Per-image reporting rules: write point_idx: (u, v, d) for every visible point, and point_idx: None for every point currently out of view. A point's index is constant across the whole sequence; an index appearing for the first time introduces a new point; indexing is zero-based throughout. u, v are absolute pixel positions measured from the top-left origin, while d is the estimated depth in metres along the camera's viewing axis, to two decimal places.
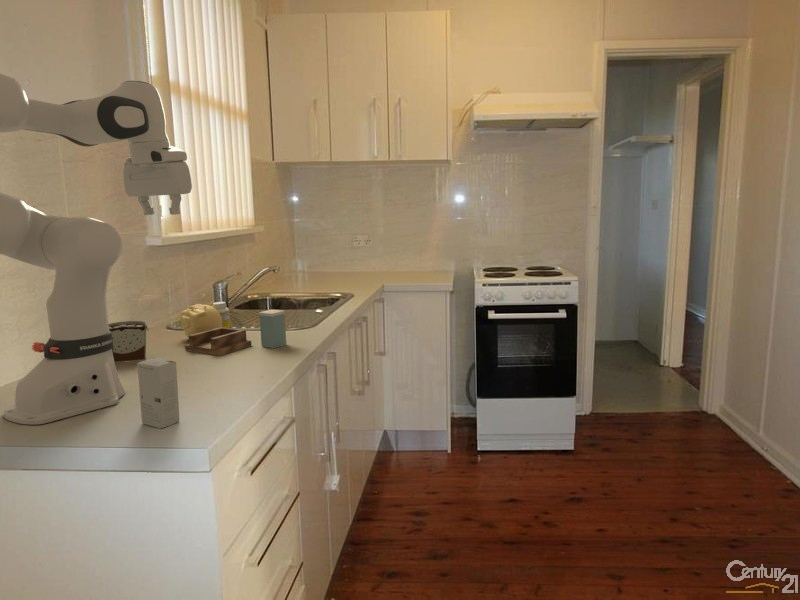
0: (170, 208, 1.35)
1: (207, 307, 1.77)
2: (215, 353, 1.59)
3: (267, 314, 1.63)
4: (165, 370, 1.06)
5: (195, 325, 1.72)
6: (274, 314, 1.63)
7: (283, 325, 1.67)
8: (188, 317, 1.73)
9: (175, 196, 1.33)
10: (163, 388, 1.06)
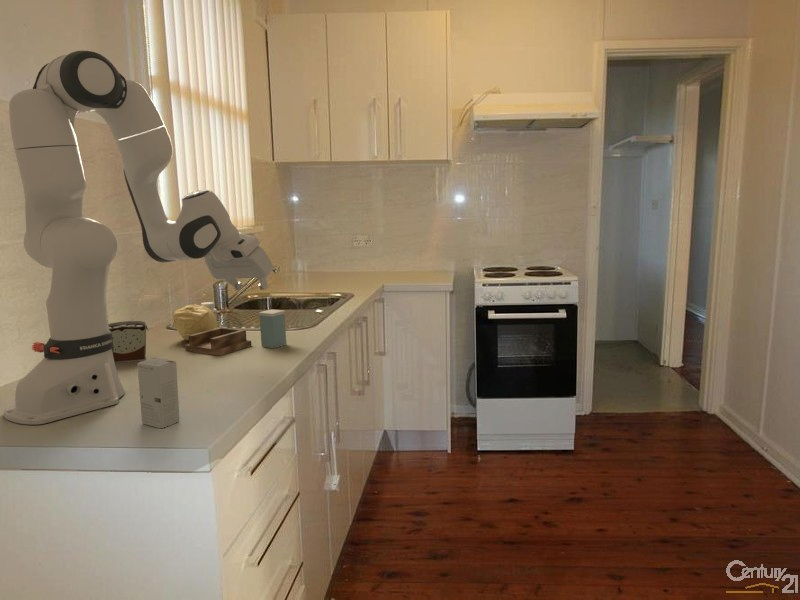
0: (260, 285, 1.52)
1: (204, 307, 1.76)
2: (215, 353, 1.59)
3: (267, 314, 1.63)
4: (165, 370, 1.06)
5: (201, 325, 1.72)
6: (274, 314, 1.63)
7: (283, 325, 1.67)
8: (191, 318, 1.71)
9: None
10: (163, 388, 1.06)
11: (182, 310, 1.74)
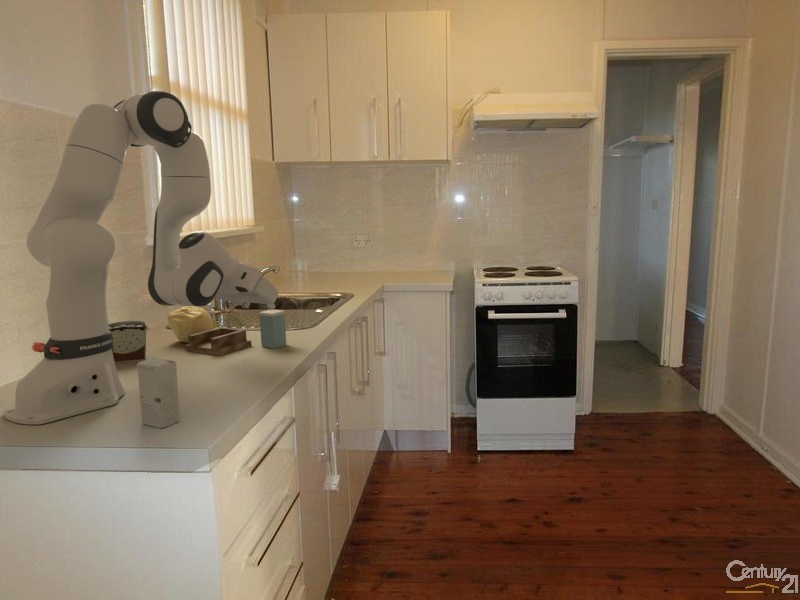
0: (267, 307, 1.57)
1: (200, 309, 1.75)
2: (215, 353, 1.59)
3: (267, 314, 1.63)
4: (165, 370, 1.06)
5: (194, 327, 1.70)
6: (274, 314, 1.63)
7: (283, 325, 1.67)
8: (184, 320, 1.70)
9: None
10: (163, 388, 1.06)
11: (177, 312, 1.73)
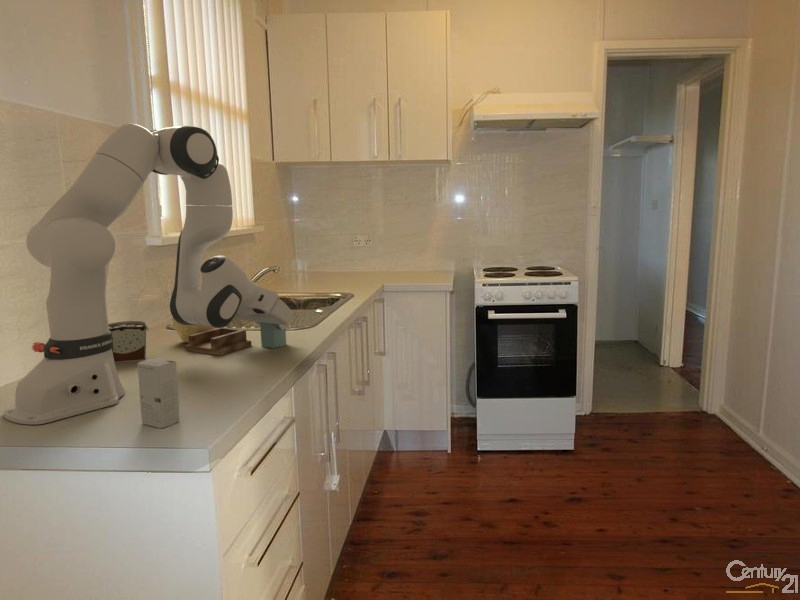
0: (278, 327, 1.64)
1: None
2: (215, 353, 1.59)
3: None
4: (165, 370, 1.06)
5: (197, 327, 1.69)
6: None
7: None
8: None
9: None
10: (163, 388, 1.06)
11: None
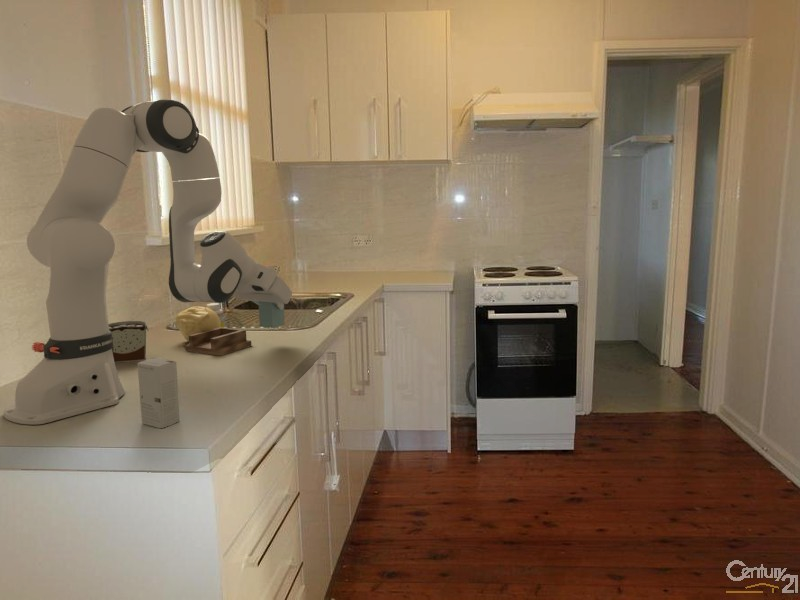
0: (277, 306, 1.63)
1: (207, 309, 1.74)
2: (215, 353, 1.59)
3: None
4: (165, 370, 1.06)
5: (201, 327, 1.69)
6: None
7: None
8: (191, 320, 1.69)
9: None
10: (163, 388, 1.06)
11: (185, 312, 1.73)
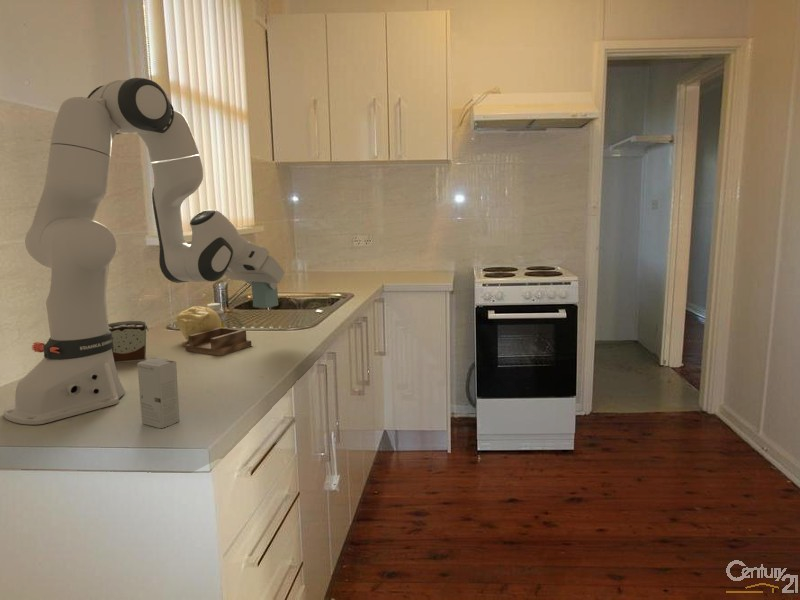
0: (270, 287, 1.62)
1: (208, 309, 1.74)
2: (215, 353, 1.59)
3: None
4: (165, 370, 1.06)
5: (201, 327, 1.69)
6: None
7: None
8: (192, 320, 1.70)
9: None
10: (163, 388, 1.06)
11: (185, 312, 1.73)
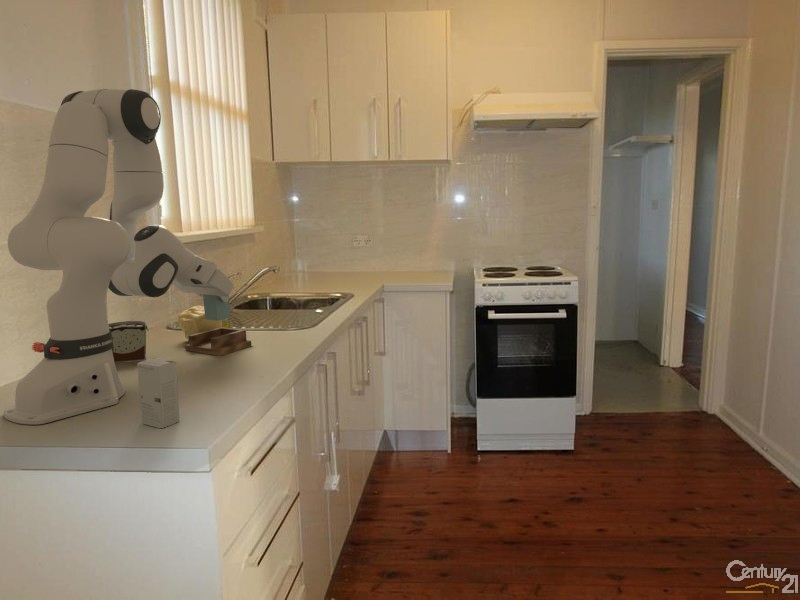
0: (221, 299, 1.62)
1: None
2: (215, 353, 1.59)
3: None
4: (165, 370, 1.06)
5: (198, 327, 1.70)
6: None
7: None
8: (190, 319, 1.70)
9: None
10: (163, 388, 1.06)
11: (186, 311, 1.74)
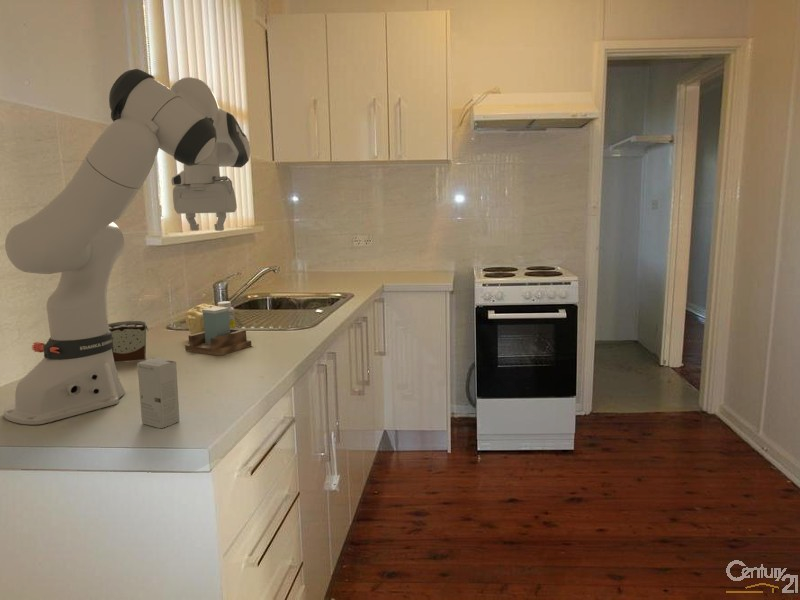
0: None
1: None
2: (215, 353, 1.59)
3: (210, 311, 1.62)
4: (165, 370, 1.06)
5: (201, 325, 1.72)
6: (217, 311, 1.62)
7: (227, 322, 1.65)
8: (194, 317, 1.73)
9: None
10: (163, 388, 1.06)
11: (192, 309, 1.77)
